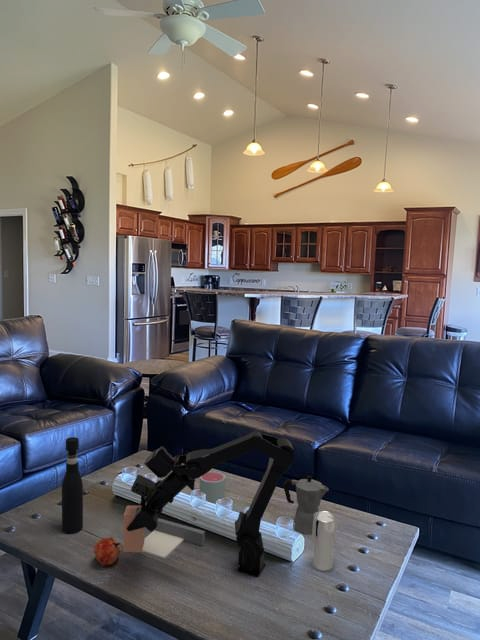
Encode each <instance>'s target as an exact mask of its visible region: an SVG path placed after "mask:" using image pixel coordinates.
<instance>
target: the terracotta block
mask: <svg viewBox="0 0 480 640" xmlns="http://www.w3.org/2000/svg"><path fill="white" fill-rule="evenodd" d="M137 507H138V508H140V507H141V506H139V505H126V508H125V510H124V513H123V553H129V552H130V553H143V552H142V549H143V545H144V532H145V527H144V528H140V529H136V530H133V531H128V530H127V527H128V526H129V524H130V523H131V522H132V520H133V519H134V518H135V515H136V510H137Z"/></svg>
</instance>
